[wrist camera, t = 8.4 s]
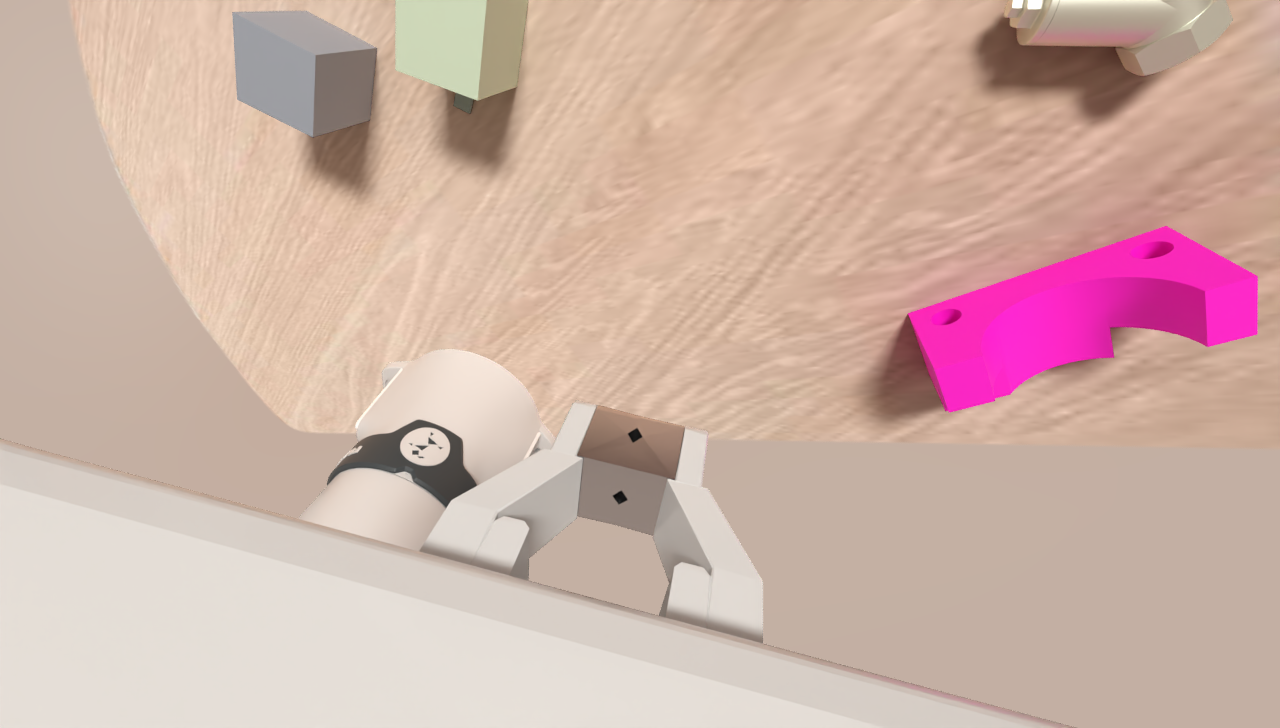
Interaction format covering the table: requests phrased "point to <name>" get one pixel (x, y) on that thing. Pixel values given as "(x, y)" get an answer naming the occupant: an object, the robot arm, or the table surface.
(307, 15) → the slate block
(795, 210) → the table surface
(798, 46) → the table surface
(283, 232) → the table surface
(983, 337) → the magenta curved bracket
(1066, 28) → the pipe fitting
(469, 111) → the small gray-green block
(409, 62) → the sage block
